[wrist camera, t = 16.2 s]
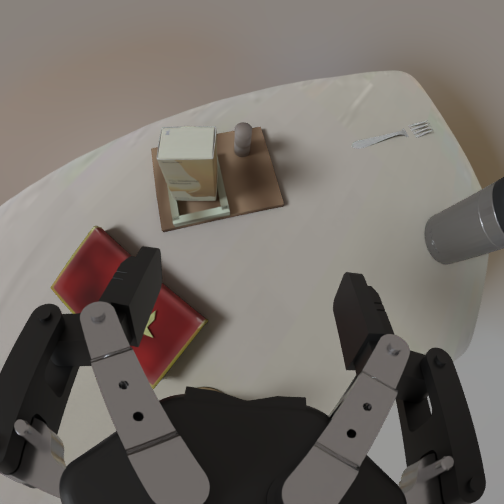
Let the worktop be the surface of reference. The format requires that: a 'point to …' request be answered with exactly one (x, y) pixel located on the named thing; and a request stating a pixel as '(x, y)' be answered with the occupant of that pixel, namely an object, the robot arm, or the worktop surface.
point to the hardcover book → (163, 314)
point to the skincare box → (189, 162)
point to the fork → (374, 140)
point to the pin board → (226, 182)
